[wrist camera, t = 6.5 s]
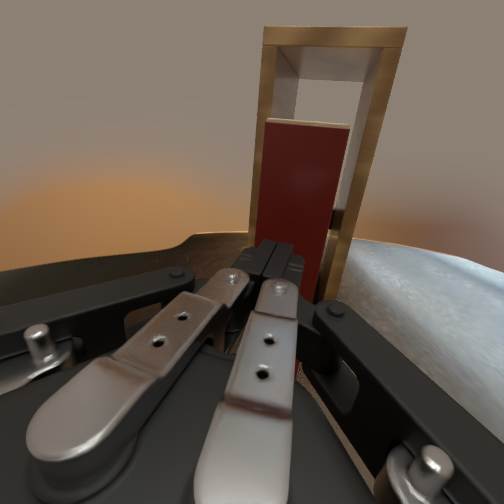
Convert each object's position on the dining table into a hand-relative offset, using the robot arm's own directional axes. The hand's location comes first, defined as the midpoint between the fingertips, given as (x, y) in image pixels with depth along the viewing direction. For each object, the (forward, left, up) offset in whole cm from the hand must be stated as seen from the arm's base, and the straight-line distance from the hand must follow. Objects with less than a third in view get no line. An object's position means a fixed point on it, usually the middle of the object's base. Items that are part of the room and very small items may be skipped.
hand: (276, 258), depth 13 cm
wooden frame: (-5, -19, -15) cm, 25 cm away
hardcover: (-3, -12, -15) cm, 19 cm away
